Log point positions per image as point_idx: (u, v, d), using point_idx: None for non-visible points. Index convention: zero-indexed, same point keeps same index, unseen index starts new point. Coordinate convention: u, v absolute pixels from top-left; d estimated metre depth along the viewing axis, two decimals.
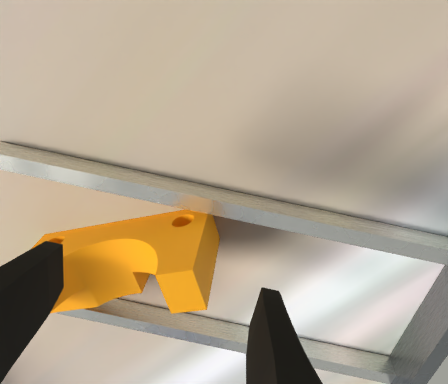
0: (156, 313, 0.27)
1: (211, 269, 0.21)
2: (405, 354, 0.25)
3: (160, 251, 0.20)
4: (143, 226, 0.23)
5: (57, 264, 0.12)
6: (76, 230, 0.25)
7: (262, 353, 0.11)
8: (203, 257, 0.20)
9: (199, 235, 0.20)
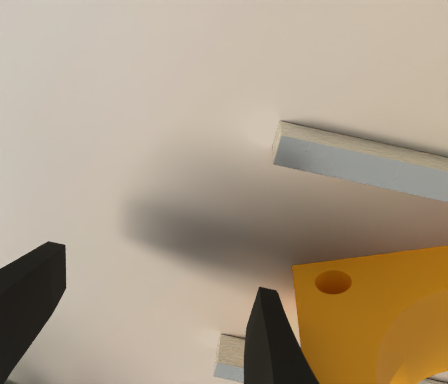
0: None
1: None
2: None
3: None
4: None
5: (59, 264, 0.12)
6: (356, 260, 0.15)
7: (259, 352, 0.11)
8: None
9: None
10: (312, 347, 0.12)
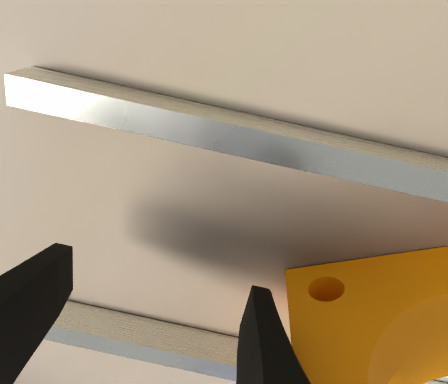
0: None
1: None
2: None
3: None
4: None
5: (66, 266, 0.12)
6: (349, 266, 0.15)
7: (251, 351, 0.11)
8: None
9: None
10: (304, 356, 0.12)
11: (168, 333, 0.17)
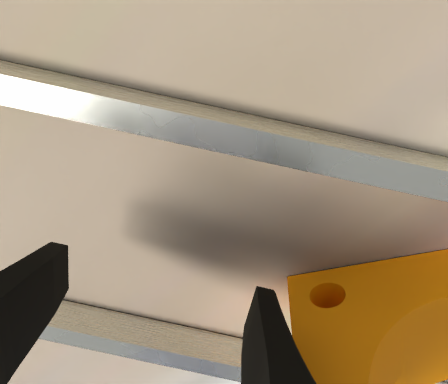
0: (154, 330, 0.17)
1: None
2: None
3: None
4: None
5: (62, 265, 0.12)
6: (350, 272, 0.15)
7: (256, 352, 0.11)
8: None
9: None
10: (306, 364, 0.12)
11: None
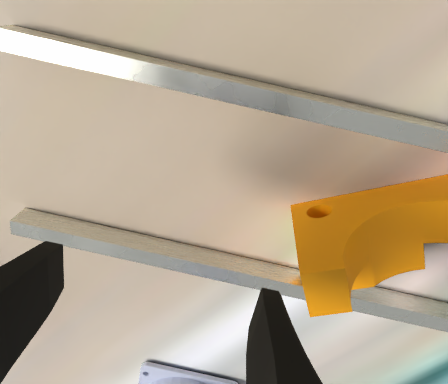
0: (192, 251, 0.23)
1: None
2: None
3: None
4: (444, 187, 0.19)
5: (57, 264, 0.12)
6: (336, 198, 0.21)
7: (262, 353, 0.11)
8: None
9: None
10: (303, 246, 0.18)
11: (117, 234, 0.23)
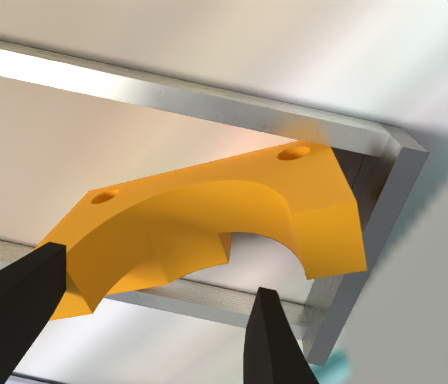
0: None
1: None
2: (317, 297, 0.19)
3: (280, 187, 0.13)
4: (234, 166, 0.16)
5: (60, 265, 0.12)
6: (133, 182, 0.18)
7: (259, 352, 0.11)
8: None
9: (334, 164, 0.13)
10: (53, 235, 0.15)
11: None
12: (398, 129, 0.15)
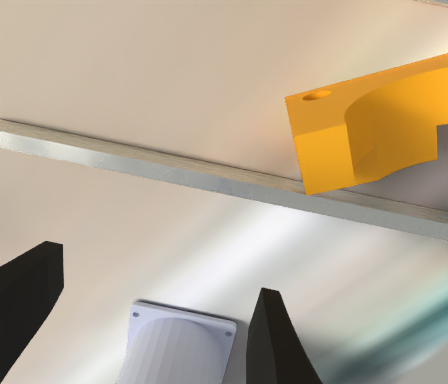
0: (179, 160, 0.21)
1: None
2: None
3: None
4: None
5: (57, 264, 0.12)
6: (336, 84, 0.18)
7: (262, 353, 0.11)
8: None
9: None
10: (298, 118, 0.15)
11: (96, 143, 0.21)
12: None
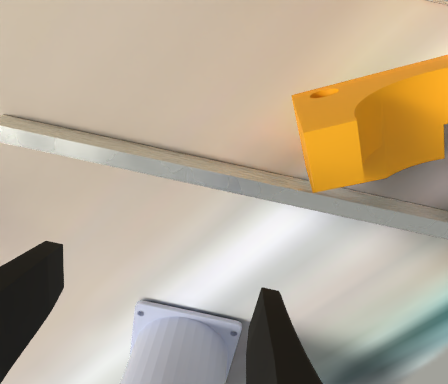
0: (188, 158, 0.21)
1: None
2: None
3: None
4: None
5: (57, 264, 0.12)
6: (343, 83, 0.18)
7: (262, 353, 0.11)
8: None
9: None
10: (307, 115, 0.15)
11: (105, 141, 0.21)
12: None
